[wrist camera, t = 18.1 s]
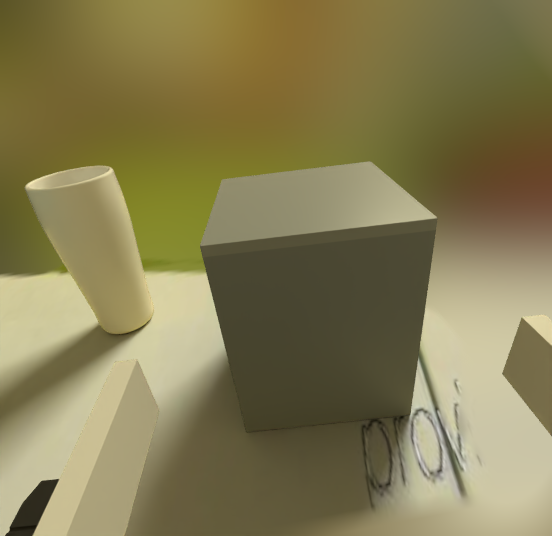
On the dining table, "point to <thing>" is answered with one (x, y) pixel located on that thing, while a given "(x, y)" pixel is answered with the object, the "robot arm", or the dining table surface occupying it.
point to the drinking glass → (95, 243)
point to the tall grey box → (319, 293)
